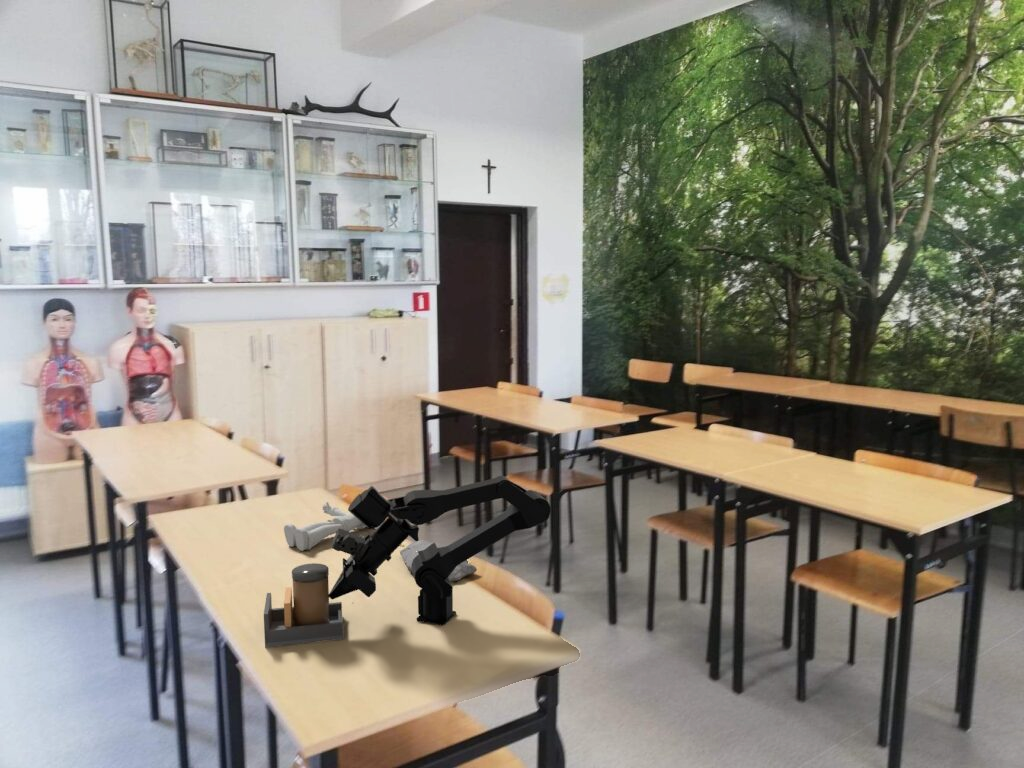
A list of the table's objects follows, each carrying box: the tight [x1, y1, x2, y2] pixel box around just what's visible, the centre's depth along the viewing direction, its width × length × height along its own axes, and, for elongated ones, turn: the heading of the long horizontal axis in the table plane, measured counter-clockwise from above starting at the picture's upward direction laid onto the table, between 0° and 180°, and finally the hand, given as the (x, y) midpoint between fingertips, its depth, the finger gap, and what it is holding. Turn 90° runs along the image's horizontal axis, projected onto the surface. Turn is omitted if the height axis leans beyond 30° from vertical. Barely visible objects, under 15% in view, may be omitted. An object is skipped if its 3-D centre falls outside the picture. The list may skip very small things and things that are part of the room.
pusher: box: [283, 586, 293, 628], centre depth 159 cm, size 1×8×7 cm, turn 14°
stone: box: [399, 539, 478, 582], centre depth 196 cm, size 16×6×25 cm
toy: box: [283, 501, 381, 552], centre depth 219 cm, size 34×8×30 cm
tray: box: [263, 592, 344, 648], centre depth 160 cm, size 15×11×7 cm
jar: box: [291, 562, 330, 627], centre depth 160 cm, size 7×7×12 cm
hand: (330, 597), depth 161 cm, fingers closed, pressing on jar
